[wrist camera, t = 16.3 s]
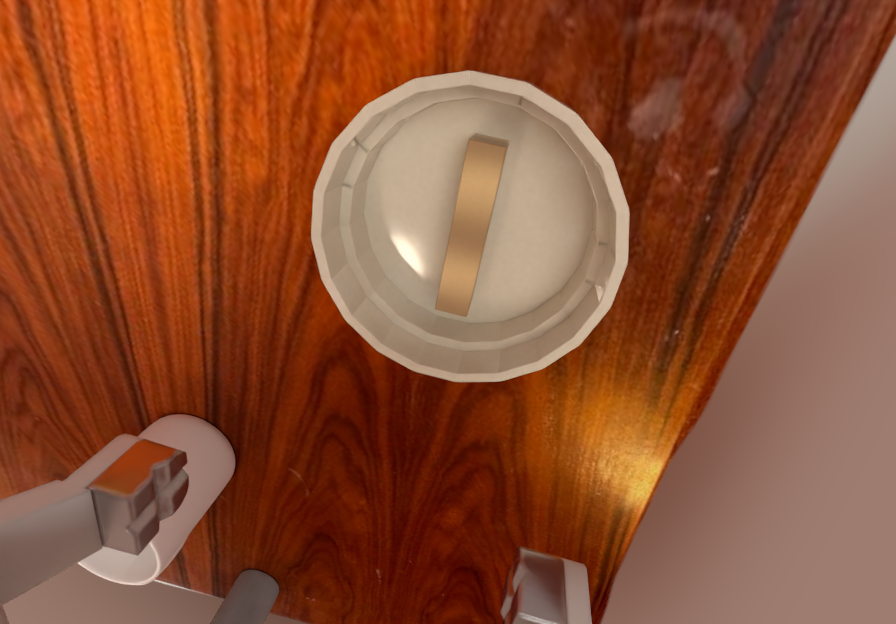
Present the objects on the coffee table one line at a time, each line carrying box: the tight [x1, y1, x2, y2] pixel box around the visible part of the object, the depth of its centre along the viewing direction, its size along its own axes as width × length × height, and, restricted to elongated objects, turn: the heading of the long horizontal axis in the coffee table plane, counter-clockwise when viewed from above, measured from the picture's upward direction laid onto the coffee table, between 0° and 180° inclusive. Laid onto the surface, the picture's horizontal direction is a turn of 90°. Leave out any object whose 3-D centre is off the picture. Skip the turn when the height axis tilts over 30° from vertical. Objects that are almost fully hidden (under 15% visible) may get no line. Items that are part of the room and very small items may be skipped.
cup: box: [78, 414, 235, 585], centre depth 40 cm, size 8×12×10 cm
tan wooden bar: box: [435, 133, 509, 317], centre depth 28 cm, size 10×2×3 cm, turn 169°
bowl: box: [311, 70, 630, 382], centre depth 27 cm, size 16×16×6 cm
